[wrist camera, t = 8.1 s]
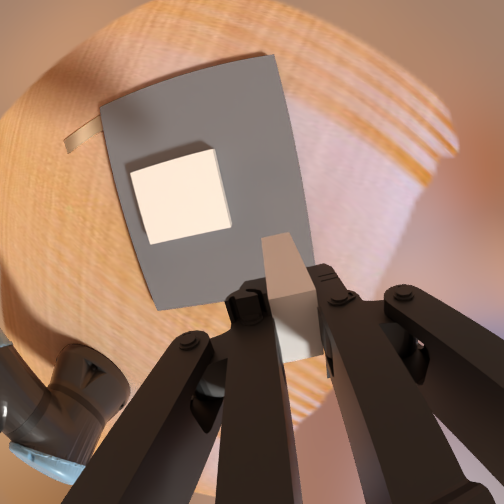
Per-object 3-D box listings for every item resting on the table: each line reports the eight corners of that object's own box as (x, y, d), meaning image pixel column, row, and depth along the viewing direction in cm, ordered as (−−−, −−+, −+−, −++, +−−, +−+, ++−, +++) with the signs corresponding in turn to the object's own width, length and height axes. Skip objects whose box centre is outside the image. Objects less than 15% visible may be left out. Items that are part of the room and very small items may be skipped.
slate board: (160, 306, 35) (157, 310, 34) (104, 108, 26) (99, 107, 25) (315, 280, 33) (317, 284, 32) (273, 57, 24) (273, 54, 23)
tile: (232, 223, 29) (155, 239, 30) (215, 149, 27) (136, 171, 28) (230, 227, 28) (150, 244, 29) (212, 148, 25) (130, 172, 26)
